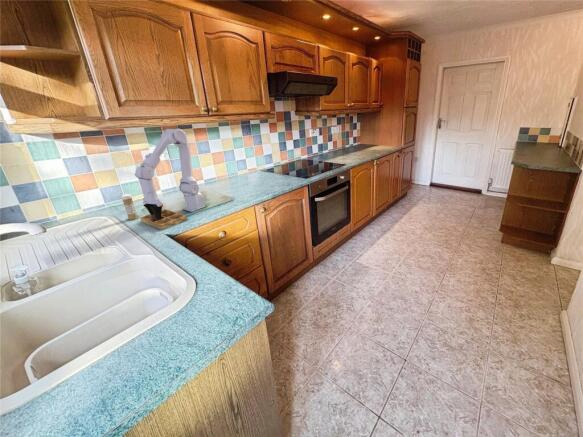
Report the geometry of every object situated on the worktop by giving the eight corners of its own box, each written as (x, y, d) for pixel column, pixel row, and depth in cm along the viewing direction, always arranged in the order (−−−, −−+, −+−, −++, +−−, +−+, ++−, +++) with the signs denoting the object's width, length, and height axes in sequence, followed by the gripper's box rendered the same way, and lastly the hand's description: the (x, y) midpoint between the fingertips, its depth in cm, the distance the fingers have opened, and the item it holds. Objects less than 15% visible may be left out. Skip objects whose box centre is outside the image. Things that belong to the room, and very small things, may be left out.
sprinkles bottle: (131, 217, 142) (123, 193, 137) (139, 216, 142) (132, 193, 137) (127, 220, 138) (119, 196, 132) (135, 219, 138) (128, 195, 133)
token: (159, 217, 134) (157, 211, 133) (163, 219, 132) (161, 212, 130) (150, 220, 131) (148, 213, 130) (155, 222, 128) (153, 215, 127)
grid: (166, 213, 145) (165, 208, 144) (187, 220, 134) (186, 215, 133) (141, 221, 135) (140, 217, 134) (161, 230, 124) (160, 225, 123)
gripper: (133, 191, 127) (141, 217, 132) (148, 195, 119) (156, 222, 124) (148, 188, 132) (155, 212, 137) (163, 191, 124) (169, 217, 129)
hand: (156, 217), depth 131 cm, fingers closed on token, 4 cm apart
